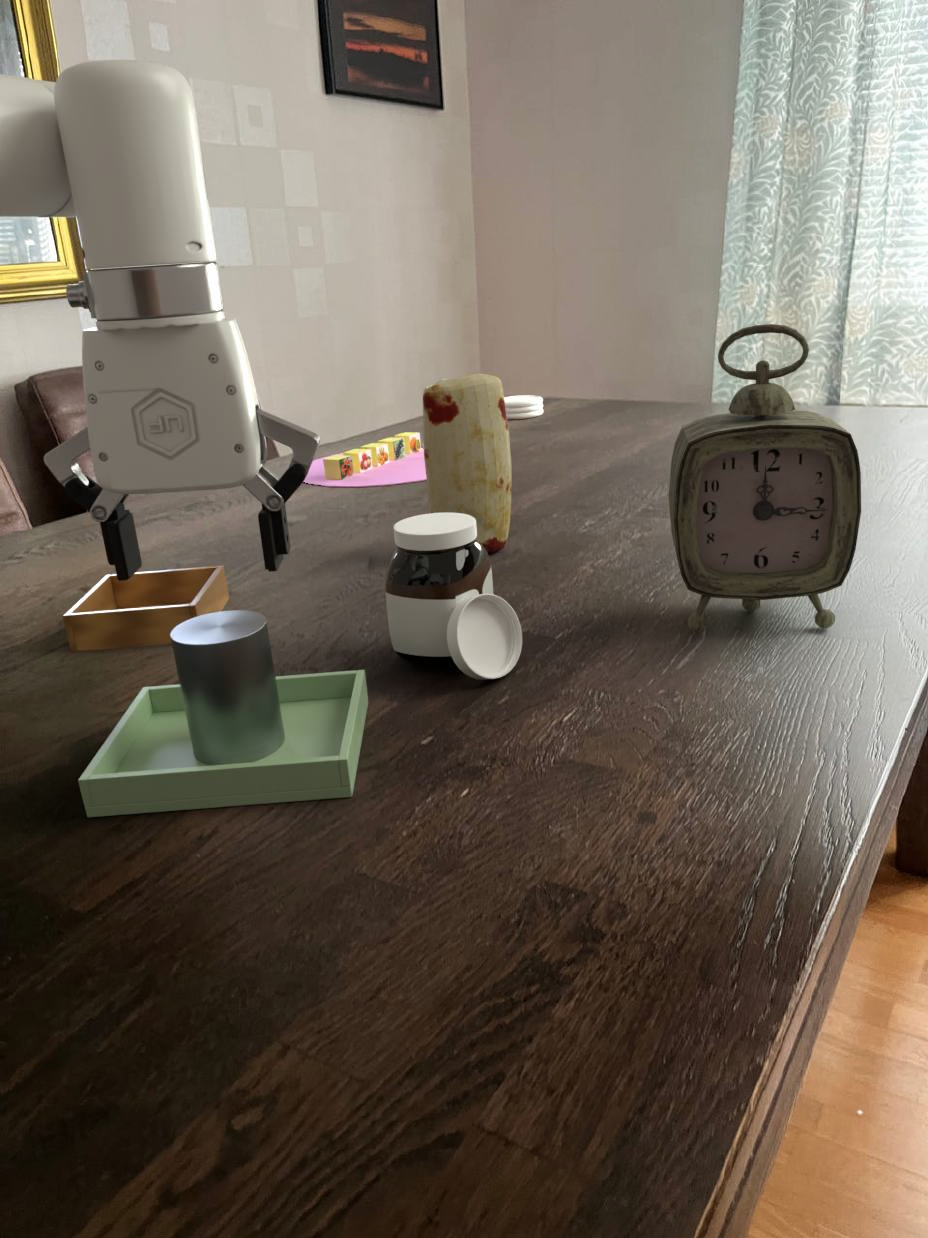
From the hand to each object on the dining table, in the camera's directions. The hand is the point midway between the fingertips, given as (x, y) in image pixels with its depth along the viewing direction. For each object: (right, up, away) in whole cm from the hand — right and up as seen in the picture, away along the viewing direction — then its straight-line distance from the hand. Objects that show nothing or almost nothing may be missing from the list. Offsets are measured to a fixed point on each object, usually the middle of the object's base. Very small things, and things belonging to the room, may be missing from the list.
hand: (202, 569), depth 64 cm
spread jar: (+17, -7, +18) cm, 26 cm away
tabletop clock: (+43, -3, +21) cm, 48 cm away
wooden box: (-13, -4, +31) cm, 34 cm away
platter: (+5, +22, +98) cm, 101 cm away
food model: (+19, +4, +47) cm, 50 cm away
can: (+1, -12, +4) cm, 13 cm away
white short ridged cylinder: (+29, +39, +135) cm, 144 cm away
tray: (+1, -13, +5) cm, 14 cm away
